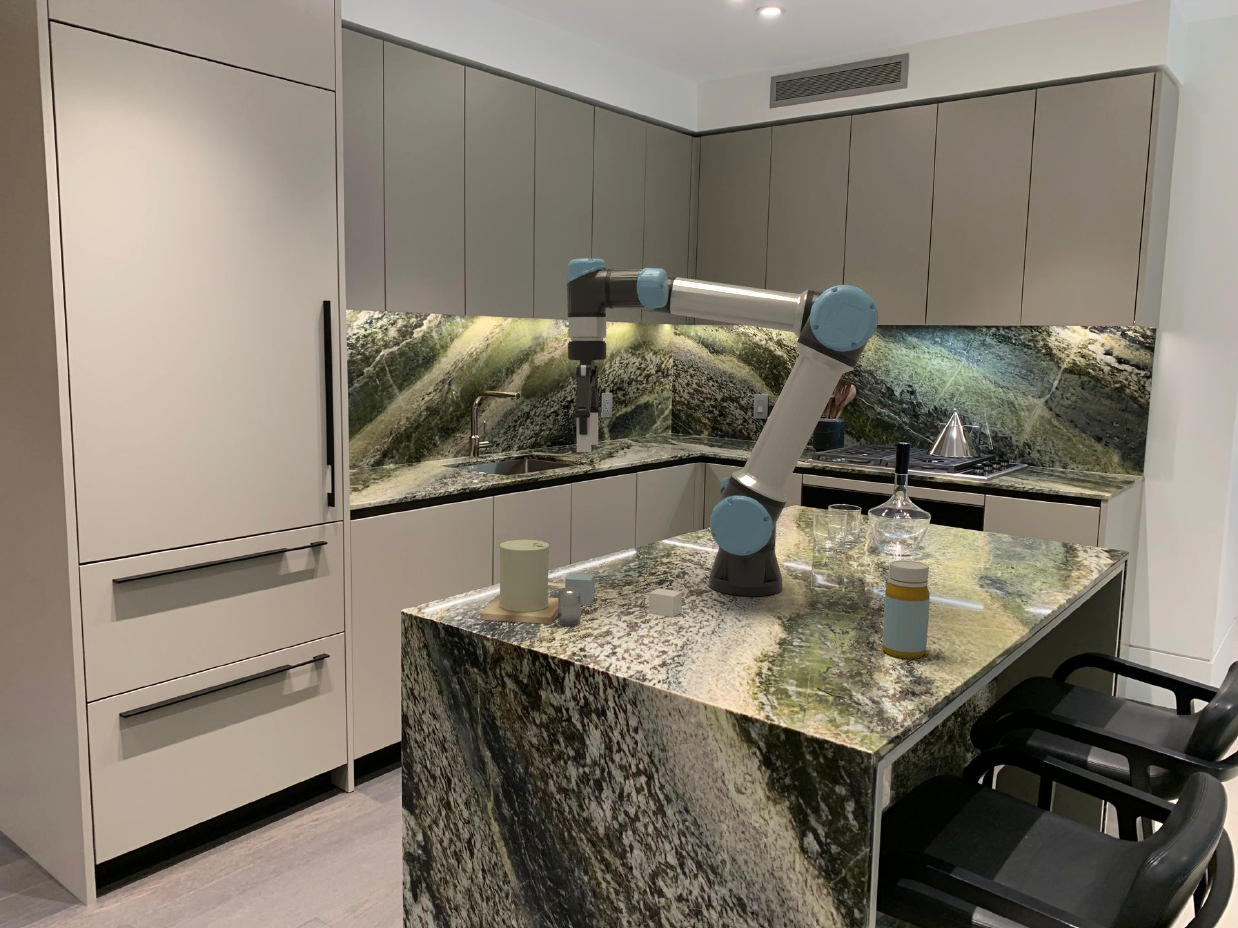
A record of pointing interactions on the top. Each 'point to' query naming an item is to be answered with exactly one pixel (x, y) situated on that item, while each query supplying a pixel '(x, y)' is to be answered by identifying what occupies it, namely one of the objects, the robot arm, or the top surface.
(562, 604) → the tin
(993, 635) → the top surface
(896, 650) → the bottle
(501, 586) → the can
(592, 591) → the block gray
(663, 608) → the block white
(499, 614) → the board
